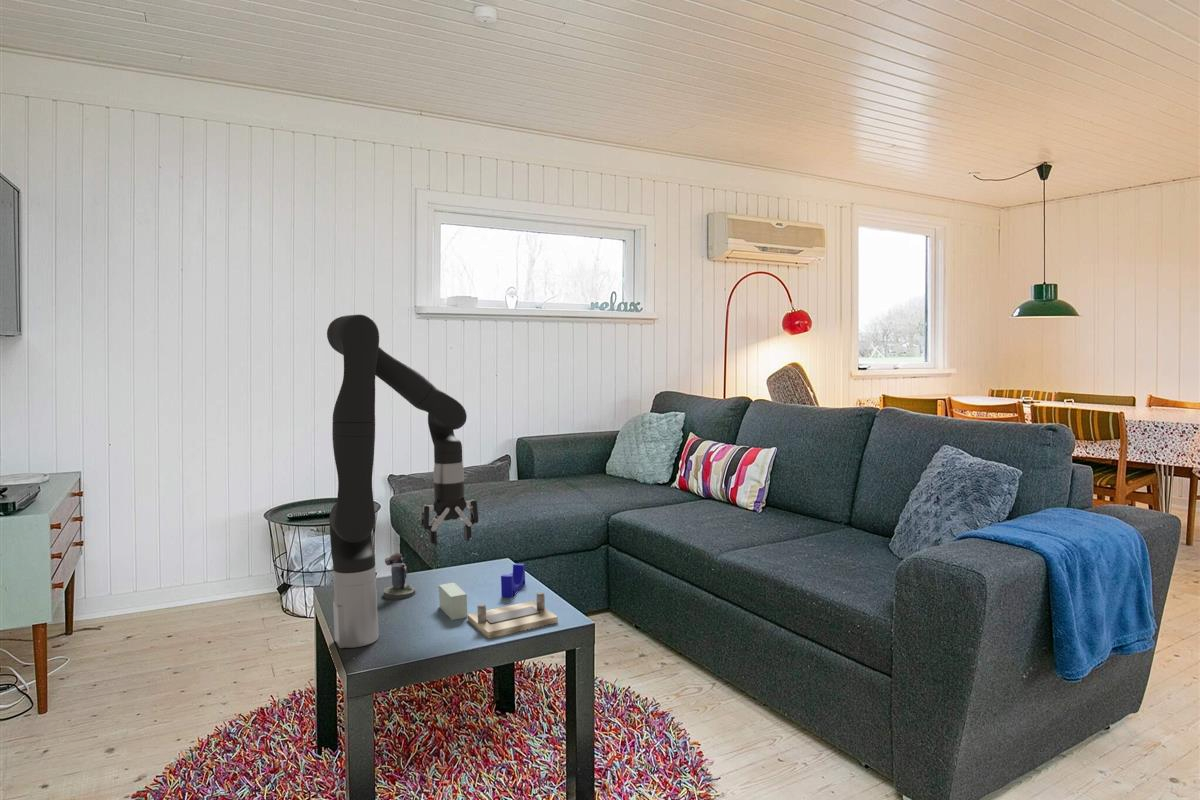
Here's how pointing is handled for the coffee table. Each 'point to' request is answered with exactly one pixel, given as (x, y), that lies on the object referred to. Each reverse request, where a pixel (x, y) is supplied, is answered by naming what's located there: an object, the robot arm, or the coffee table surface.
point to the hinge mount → (512, 617)
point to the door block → (453, 601)
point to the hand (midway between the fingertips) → (450, 542)
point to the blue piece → (513, 580)
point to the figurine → (398, 579)
